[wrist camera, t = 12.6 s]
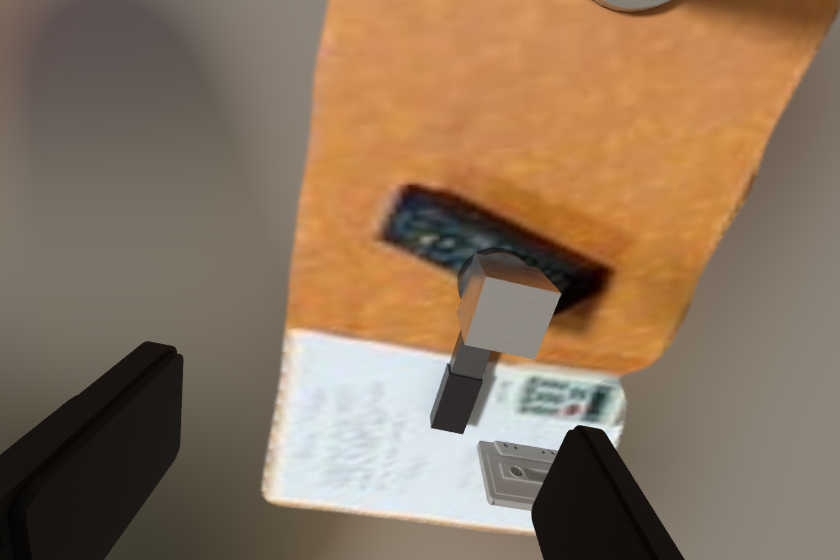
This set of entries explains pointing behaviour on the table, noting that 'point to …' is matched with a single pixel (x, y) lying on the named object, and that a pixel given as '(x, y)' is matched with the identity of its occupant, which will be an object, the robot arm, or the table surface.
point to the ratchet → (463, 367)
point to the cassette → (513, 472)
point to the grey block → (506, 306)
